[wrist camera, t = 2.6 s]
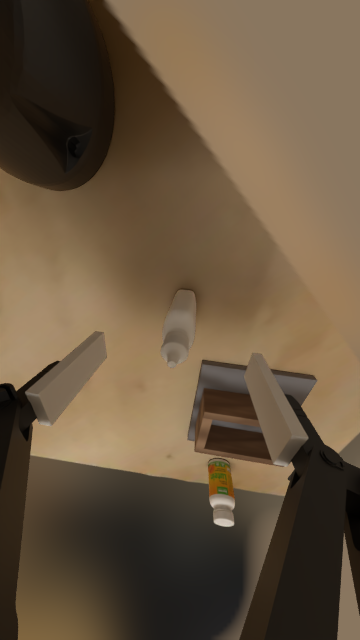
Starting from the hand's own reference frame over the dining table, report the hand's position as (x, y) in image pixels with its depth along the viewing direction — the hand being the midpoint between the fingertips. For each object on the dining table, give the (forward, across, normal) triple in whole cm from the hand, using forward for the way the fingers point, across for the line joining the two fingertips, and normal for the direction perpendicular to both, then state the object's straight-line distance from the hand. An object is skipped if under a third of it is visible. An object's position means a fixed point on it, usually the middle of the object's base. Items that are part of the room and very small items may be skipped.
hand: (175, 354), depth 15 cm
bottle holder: (+10, +13, -20) cm, 26 cm away
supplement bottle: (+11, +13, -40) cm, 44 cm away
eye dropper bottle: (+10, 0, 0) cm, 10 cm away
